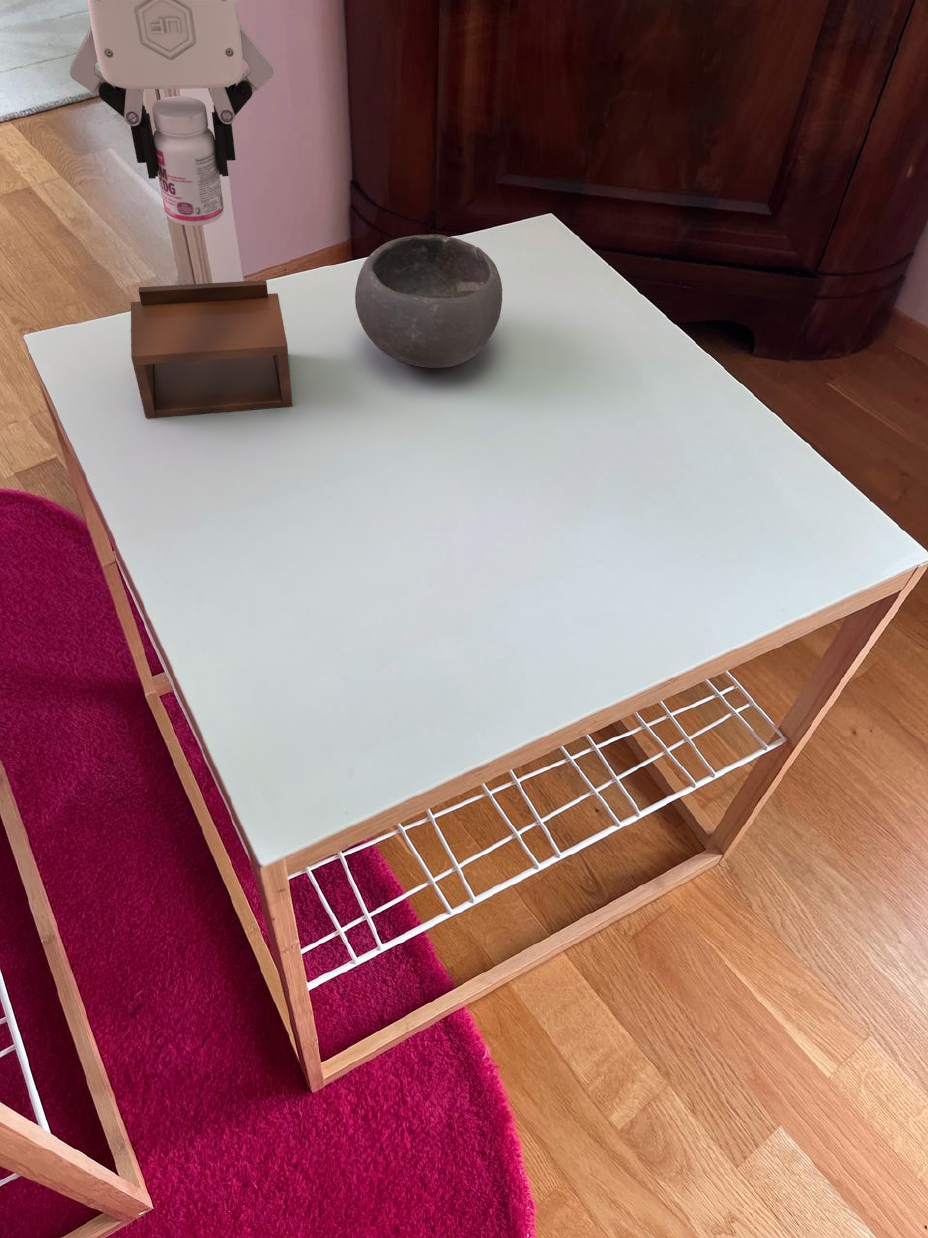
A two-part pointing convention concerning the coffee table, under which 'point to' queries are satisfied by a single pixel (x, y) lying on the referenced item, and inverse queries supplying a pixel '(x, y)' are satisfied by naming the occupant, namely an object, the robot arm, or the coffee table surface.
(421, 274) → the bowl
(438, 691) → the coffee table surface
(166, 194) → the pill bottle
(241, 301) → the shelf
